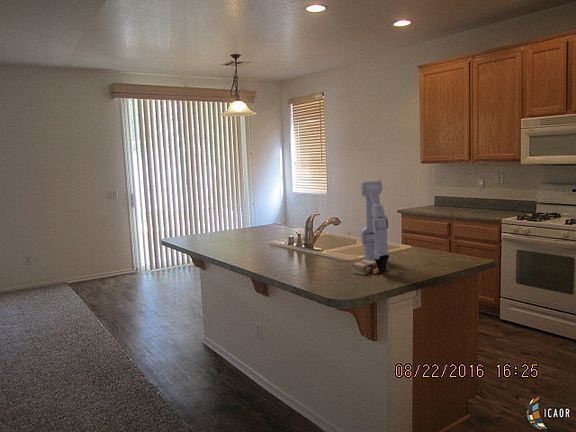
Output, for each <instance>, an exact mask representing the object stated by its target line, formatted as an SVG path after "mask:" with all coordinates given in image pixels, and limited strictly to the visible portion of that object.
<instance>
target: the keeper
mask: <svg viewBox="0 0 576 432" xmlns="http://www.w3.org/2000/svg"><path fill="white" fill-rule="evenodd" d="M385 271H388V264H386V269H385ZM378 273H380V272H379V270H378V268H377V269H374V270H373V271H372V274H373V275H377V274H378Z"/></svg>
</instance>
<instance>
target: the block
mask: <svg viewBox="0 0 576 432" xmlns="http://www.w3.org/2000/svg"><path fill="white" fill-rule="evenodd" d="M368 266H371V267H372V271H371V272H373V270H374V269H377V268H378V266H377V263H376V261H373V260H365V261H361V260H360V261H358V262H355V263H351V273H353V274H357V275H362V276H364V275H366V274H369V272H368Z"/></svg>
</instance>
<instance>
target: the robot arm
mask: <svg viewBox="0 0 576 432" xmlns="http://www.w3.org/2000/svg"><path fill="white" fill-rule="evenodd" d="M360 183H361V184H360V190H361V191H360V192H361V194H360V195H361V196H363V197H364V199H365V222H366V223H365V224H366V225H365V227H363V228H362V229H361V231H360V242H361V244H362V245H363V250H364V251H363V252H364V253H363V254H364V259H362V260H360V262H361V261H365V260H373V261H376V263H377V266H378V270H379V273H384V272H385V271H386V270H385V269H386V265H388V264H387V263H388V260H389V258H390V255H389V248H388V228H389V219H388V217H387V215H386V214H385V209H384V206H383V205H381V200H380V195H381V194H382V191H383V183H382V181H381V180H380V179H379V180H367V181H361V182H360Z"/></svg>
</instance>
